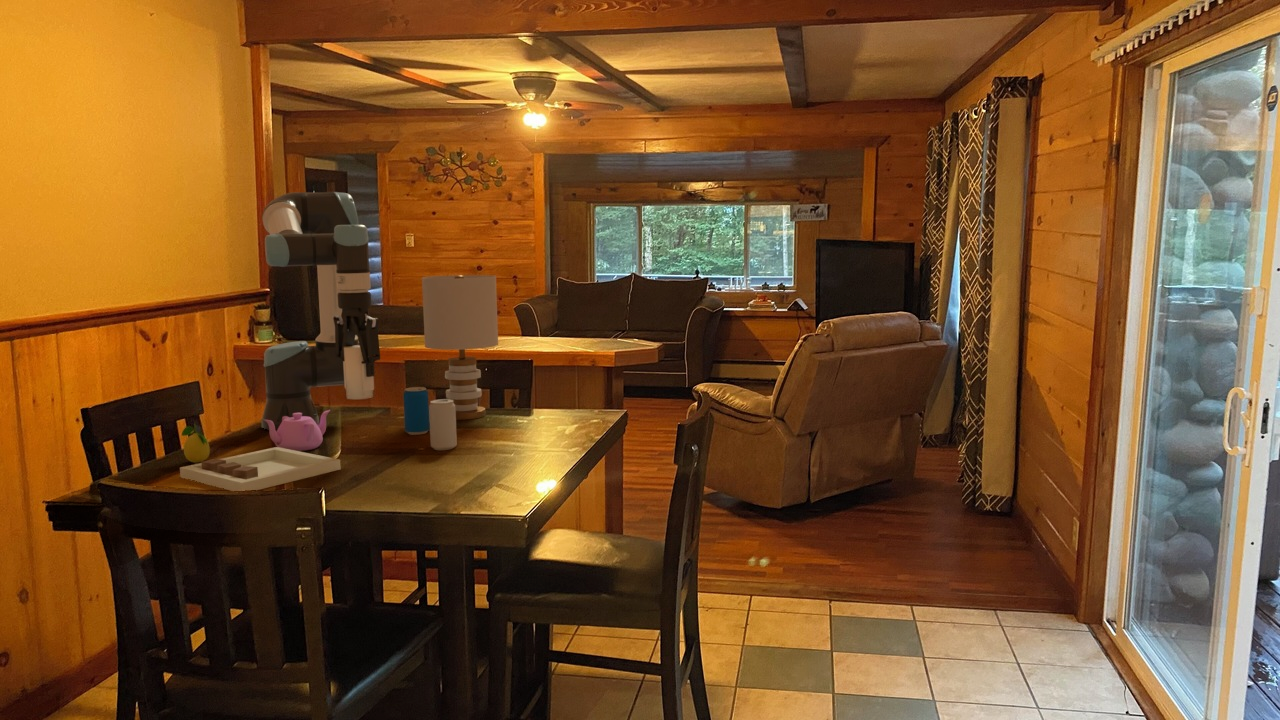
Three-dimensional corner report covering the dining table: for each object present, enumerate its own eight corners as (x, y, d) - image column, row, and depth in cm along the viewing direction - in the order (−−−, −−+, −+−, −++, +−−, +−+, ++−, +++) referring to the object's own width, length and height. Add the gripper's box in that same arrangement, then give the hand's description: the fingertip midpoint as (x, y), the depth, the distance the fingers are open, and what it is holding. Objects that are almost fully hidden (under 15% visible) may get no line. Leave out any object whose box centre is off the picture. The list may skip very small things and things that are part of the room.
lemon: (183, 463, 228) (180, 421, 226) (210, 460, 230) (207, 419, 229) (182, 469, 222) (179, 427, 220) (210, 466, 224) (207, 424, 223)
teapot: (265, 453, 237) (262, 418, 236) (287, 441, 251) (285, 408, 250) (312, 453, 237) (310, 418, 235) (332, 441, 250) (330, 407, 249)
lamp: (431, 410, 292) (426, 274, 286) (501, 407, 294) (497, 273, 288) (424, 423, 271) (417, 277, 265) (499, 421, 273) (494, 276, 268)
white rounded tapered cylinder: (341, 397, 227) (338, 347, 226) (361, 394, 232) (359, 344, 231) (357, 400, 224) (354, 348, 222) (378, 396, 229) (375, 346, 227)
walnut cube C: (233, 486, 203) (232, 469, 203) (244, 481, 207) (243, 466, 206) (247, 487, 202) (246, 470, 202) (258, 482, 206) (257, 466, 205)
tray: (180, 480, 211) (179, 467, 211) (277, 459, 231) (277, 446, 230) (243, 497, 197) (242, 483, 197) (340, 472, 217) (340, 459, 216)
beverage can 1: (433, 430, 262) (431, 386, 260) (425, 435, 255) (423, 390, 254) (409, 430, 263) (407, 386, 261) (401, 435, 256) (399, 390, 255)
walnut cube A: (202, 477, 211) (201, 462, 210) (215, 474, 214) (214, 458, 213) (213, 479, 209) (212, 463, 209) (227, 475, 212) (225, 460, 212)
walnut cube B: (218, 480, 208) (217, 465, 207) (234, 477, 210) (233, 462, 210) (226, 483, 205) (225, 467, 205) (242, 480, 208) (240, 464, 208)
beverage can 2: (461, 446, 242) (459, 399, 240) (448, 451, 236) (446, 403, 234) (439, 444, 244) (437, 397, 243) (425, 450, 238) (423, 402, 237)
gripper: (315, 291, 227) (321, 387, 230) (367, 293, 216) (372, 394, 219) (341, 289, 233) (346, 383, 236) (393, 291, 222) (398, 390, 225)
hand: (359, 388), depth 228 cm, fingers closed on white rounded tapered cylinder, 6 cm apart
